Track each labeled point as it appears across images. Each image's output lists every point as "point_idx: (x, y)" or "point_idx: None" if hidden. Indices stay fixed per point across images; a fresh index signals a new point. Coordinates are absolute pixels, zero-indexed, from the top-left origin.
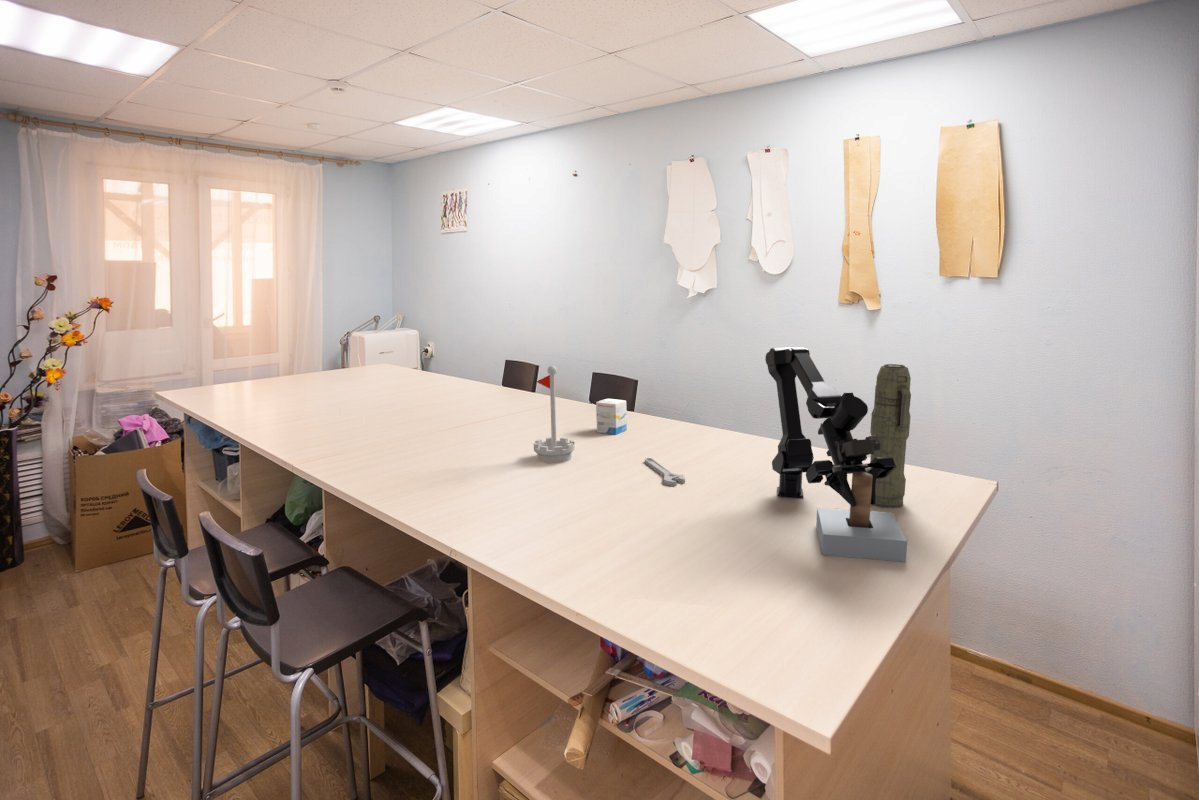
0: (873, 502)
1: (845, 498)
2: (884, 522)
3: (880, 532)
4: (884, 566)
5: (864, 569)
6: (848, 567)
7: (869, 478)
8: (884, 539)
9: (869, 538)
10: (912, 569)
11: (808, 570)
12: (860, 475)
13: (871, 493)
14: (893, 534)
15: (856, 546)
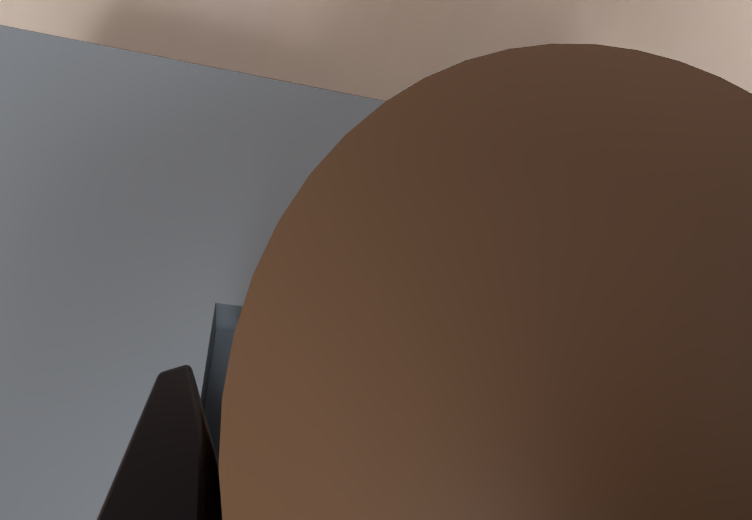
0: (192, 370)
1: None
2: (27, 491)
3: (180, 206)
4: (224, 62)
5: (356, 28)
6: (439, 53)
7: (435, 81)
8: (197, 64)
9: (317, 89)
10: (52, 19)
11: (636, 26)
12: (744, 340)
13: (202, 467)
14: (68, 159)
15: None
